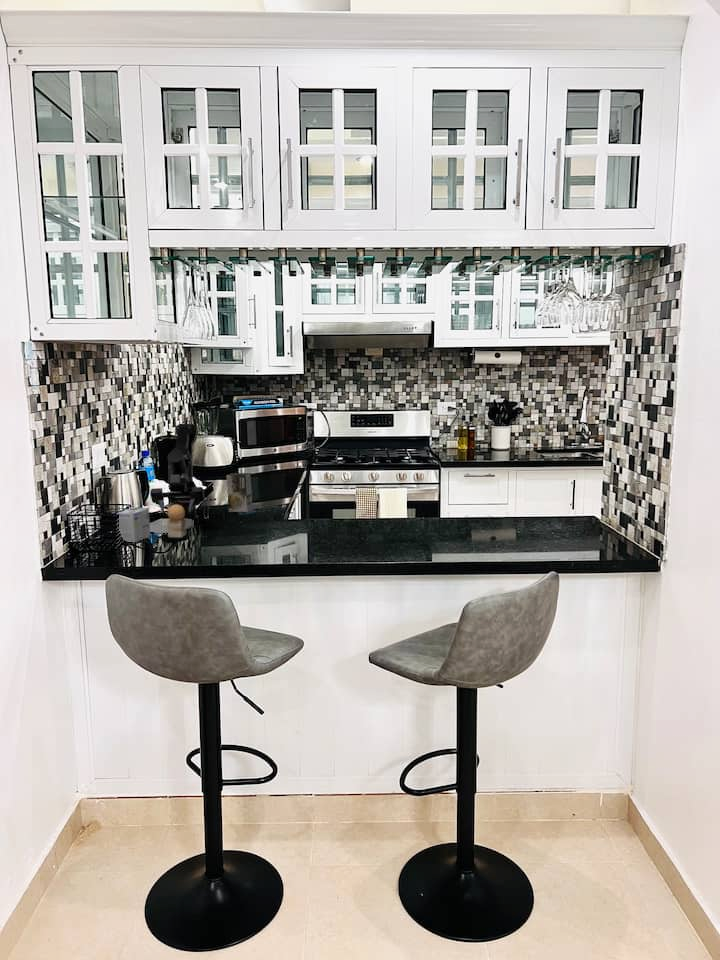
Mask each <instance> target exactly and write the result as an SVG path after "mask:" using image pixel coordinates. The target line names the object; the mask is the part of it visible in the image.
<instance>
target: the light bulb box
mask: <svg viewBox="0 0 720 960" xmlns="http://www.w3.org/2000/svg"><path fill="white" fill-rule="evenodd" d="M117 514H119V531H120V534H121V537H122V538H123V540H125V541H127V542H133V543H132V544H136V543H138V541H139V542H141V541H144V540H146V539H149V538H150V537H151V534H150V524H151V523H150V510H149V507H131V508H128V509H126V510H122V511H120V512H119V511H118V512H116V515H117ZM145 538H146V539H145ZM143 539H144V540H143ZM140 540H141V541H140ZM135 542H136V543H135Z"/></svg>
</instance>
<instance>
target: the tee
mask: <svg viewBox="0 0 720 960" xmlns="http://www.w3.org/2000/svg"><path fill="white" fill-rule="evenodd" d="M169 519H170V518H169ZM167 525H168V534H167V538H183V537H185V536H187V530H186V518H183V519H181V520H179V521H173V520H171V519H170V520H168V521H167Z"/></svg>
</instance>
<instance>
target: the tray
mask: <svg viewBox="0 0 720 960" xmlns="http://www.w3.org/2000/svg"><path fill="white" fill-rule="evenodd" d="M168 520H170V518H160V519H157V520H155V521H152V522H151V523H150V532H154V533H168V525H167V521H168ZM192 521H193V520H192V519H186V529H187V530H189V529H190V528H192V527H193V526H192V524H193V522H192ZM162 524H164V525H162ZM191 526H192V527H191Z"/></svg>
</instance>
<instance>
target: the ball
mask: <svg viewBox="0 0 720 960" xmlns="http://www.w3.org/2000/svg"><path fill="white" fill-rule="evenodd" d="M184 515H185V510H184V508H183V507H182V506H181V504H179V505H177V504H172V505H171V506H170V507H169V508H168V510H167V517H168V519H171V520H173V521H179V520H181V519H183V517H184Z"/></svg>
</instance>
